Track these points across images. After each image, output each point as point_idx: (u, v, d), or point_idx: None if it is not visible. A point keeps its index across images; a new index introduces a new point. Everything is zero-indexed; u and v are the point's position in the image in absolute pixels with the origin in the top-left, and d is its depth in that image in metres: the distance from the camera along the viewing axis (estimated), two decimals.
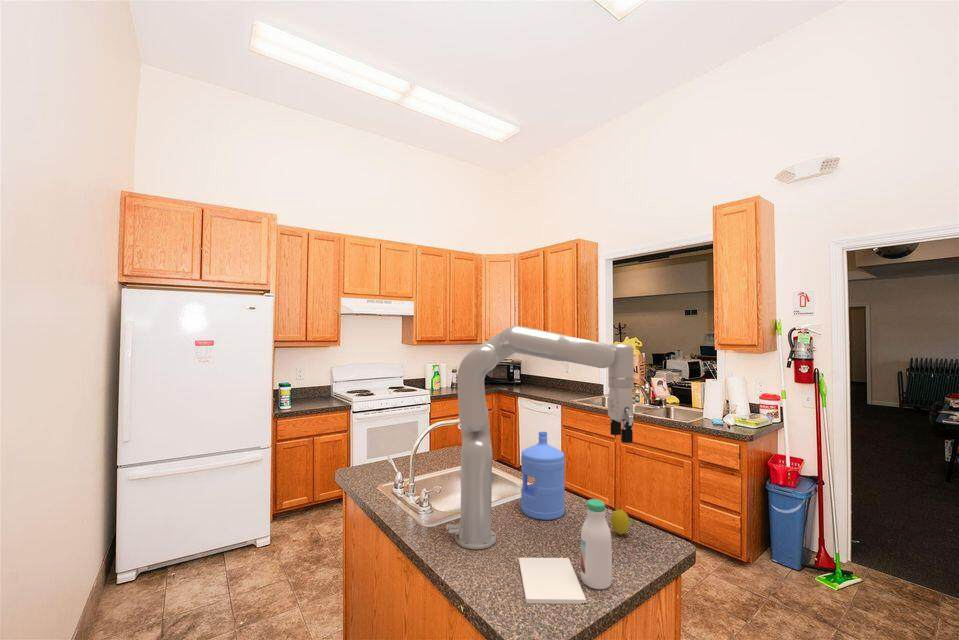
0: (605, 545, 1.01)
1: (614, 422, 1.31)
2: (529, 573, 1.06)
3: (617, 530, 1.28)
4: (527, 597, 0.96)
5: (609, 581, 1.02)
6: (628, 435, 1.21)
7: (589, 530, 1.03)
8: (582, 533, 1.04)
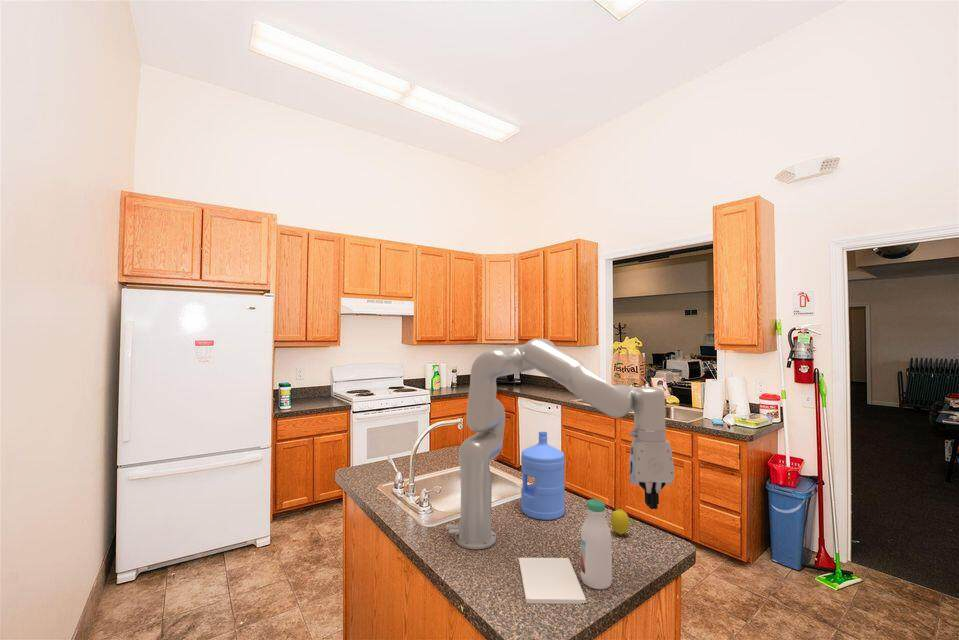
0: (605, 545, 1.01)
1: (651, 492, 1.05)
2: (529, 573, 1.06)
3: (617, 530, 1.28)
4: (527, 597, 0.96)
5: (609, 581, 1.02)
6: None
7: (589, 530, 1.03)
8: (582, 533, 1.04)
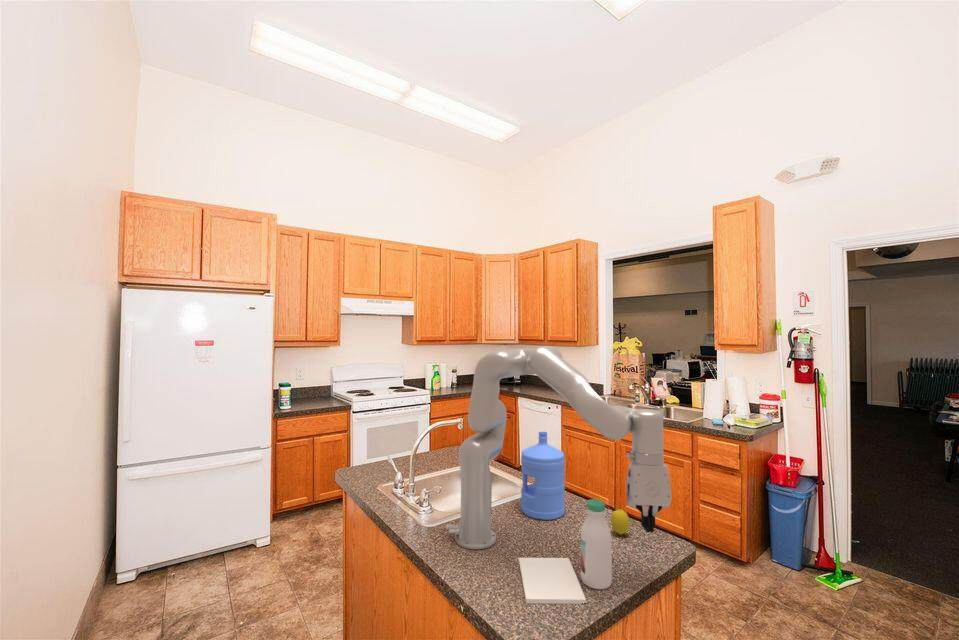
0: (605, 545, 1.01)
1: (648, 515, 1.05)
2: (529, 573, 1.06)
3: (617, 530, 1.28)
4: (527, 597, 0.96)
5: (609, 581, 1.02)
6: None
7: (589, 530, 1.03)
8: (582, 533, 1.04)
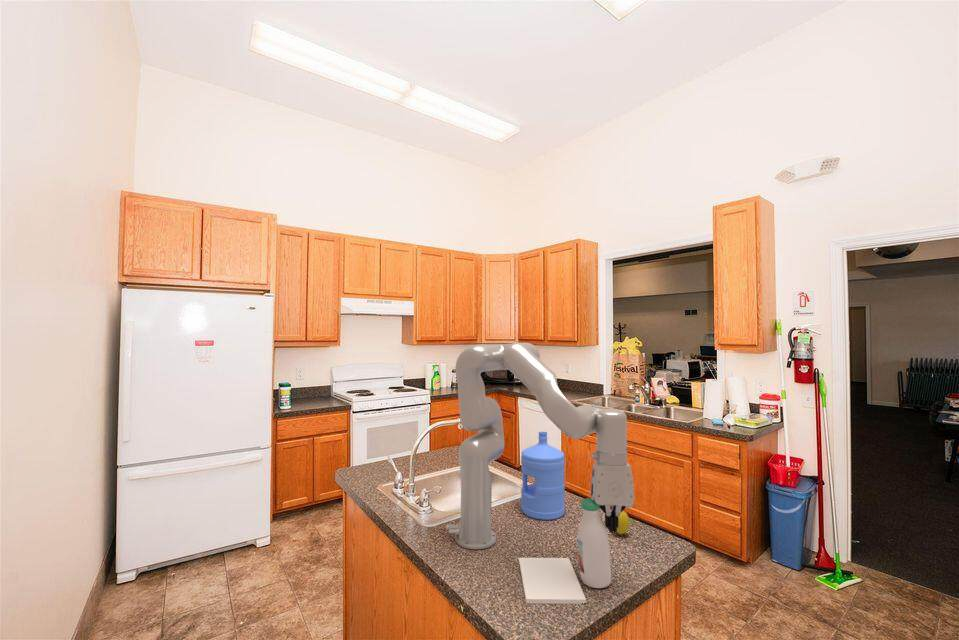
0: (601, 544, 1.01)
1: (611, 514, 1.05)
2: (529, 573, 1.06)
3: (617, 530, 1.28)
4: (527, 597, 0.96)
5: (608, 579, 1.02)
6: None
7: (585, 529, 1.03)
8: (578, 533, 1.04)
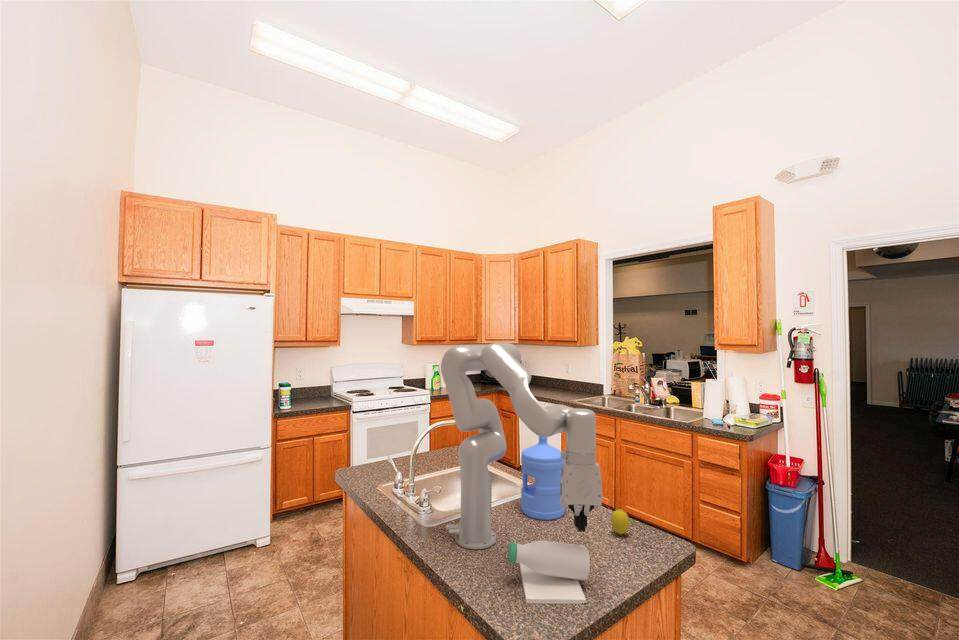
0: (548, 561, 1.01)
1: (580, 514, 1.05)
2: (529, 573, 1.06)
3: (617, 530, 1.28)
4: (527, 597, 0.96)
5: (584, 559, 1.01)
6: None
7: (533, 568, 1.02)
8: None
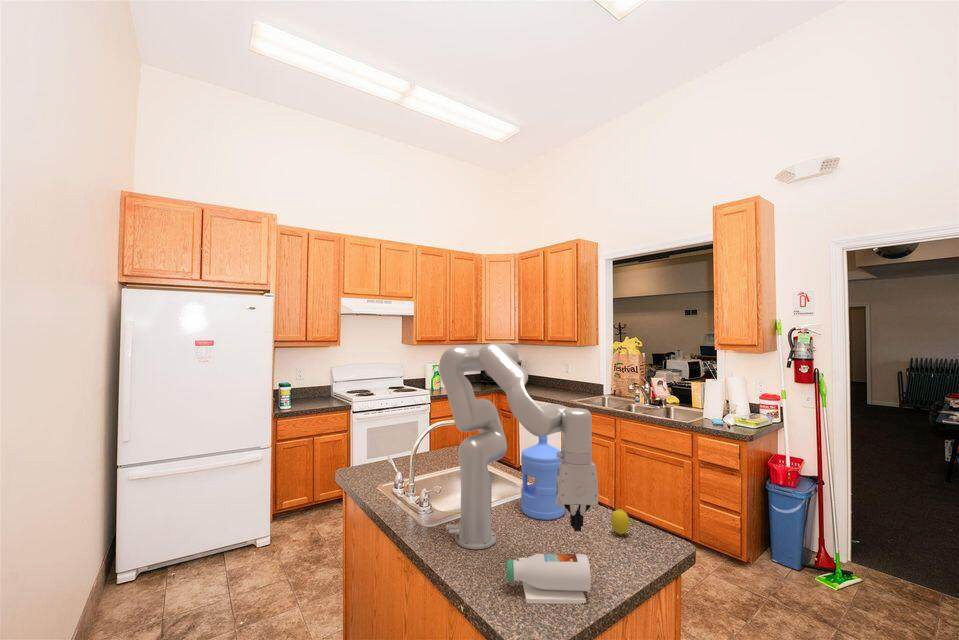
0: (545, 588, 0.97)
1: (576, 514, 1.05)
2: None
3: (617, 530, 1.28)
4: (527, 597, 0.96)
5: (584, 586, 0.96)
6: None
7: None
8: None
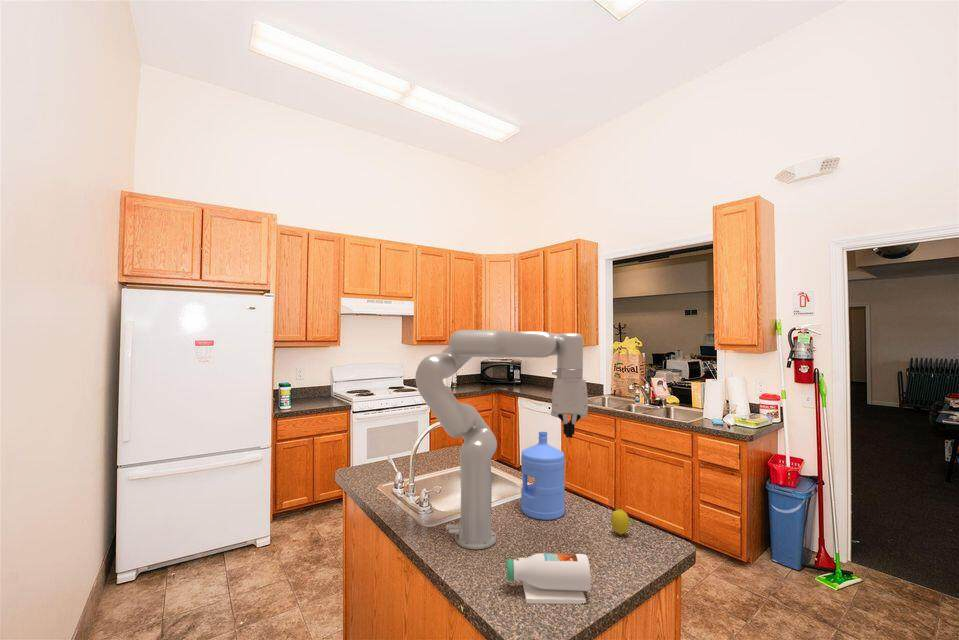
0: (545, 588, 0.97)
1: (568, 423, 1.20)
2: None
3: (617, 530, 1.28)
4: (527, 597, 0.96)
5: (584, 586, 0.96)
6: (573, 428, 1.20)
7: None
8: None
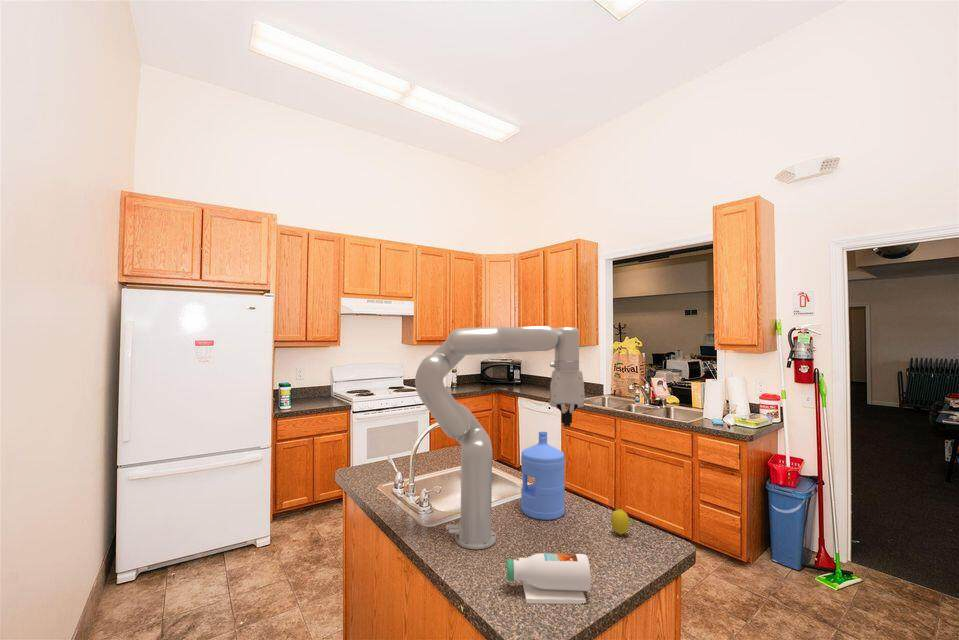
0: (545, 588, 0.97)
1: (566, 412, 1.26)
2: None
3: (617, 530, 1.28)
4: (527, 597, 0.96)
5: (584, 586, 0.96)
6: None
7: None
8: None
